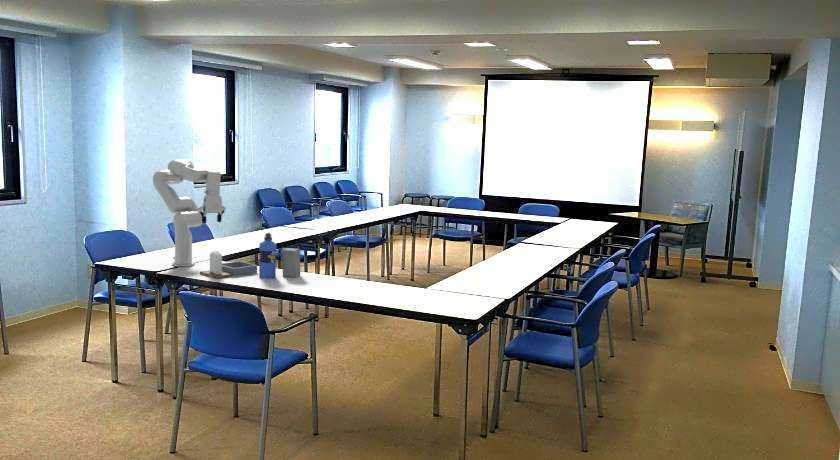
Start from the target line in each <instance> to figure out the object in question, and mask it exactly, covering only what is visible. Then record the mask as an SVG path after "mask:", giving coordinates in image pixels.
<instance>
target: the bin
mask: <svg viewBox="0 0 840 460" xmlns="http://www.w3.org/2000/svg"><path fill="white" fill-rule="evenodd" d="M222 271H223V272H226V273H230V274H232V277H239V276H246V275H251V274H252V275H253V274H257V273H258V265H257V264H253V263H250V262H245V261H241V260H238V261H237V260H236V261H229V262H222Z"/></svg>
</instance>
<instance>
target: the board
mask: <svg viewBox="0 0 840 460" xmlns="http://www.w3.org/2000/svg"><path fill="white" fill-rule="evenodd" d="M199 274H200V275H201V276H205V277H209V278H212V279H215V280H219V279H221V280H222V279H225V278H226V279H227V278H233V276H232V274H230V273H226V272H223V271H222V273H221V274H215V273H212V272H211V271H210V269H209V270H208V269H207V270H201V271H199Z"/></svg>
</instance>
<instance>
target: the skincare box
mask: <svg viewBox="0 0 840 460" xmlns="http://www.w3.org/2000/svg"><path fill="white" fill-rule="evenodd" d="M281 252H282V254H281V257H282V277H286V276H291V277H290V278H297V277H299V276H301V255H300V254H301V249H300V248H293V247H291V248H290V247H286V248H284V249H282V250H281Z"/></svg>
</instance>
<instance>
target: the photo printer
mask: <svg viewBox="0 0 840 460" xmlns="http://www.w3.org/2000/svg"><path fill="white" fill-rule="evenodd" d="M222 263H223V256H222V253H220V251H218V250H212V251H210V253H209V270H210V271H211V272H212V273H215V274H221V273H222Z"/></svg>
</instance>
